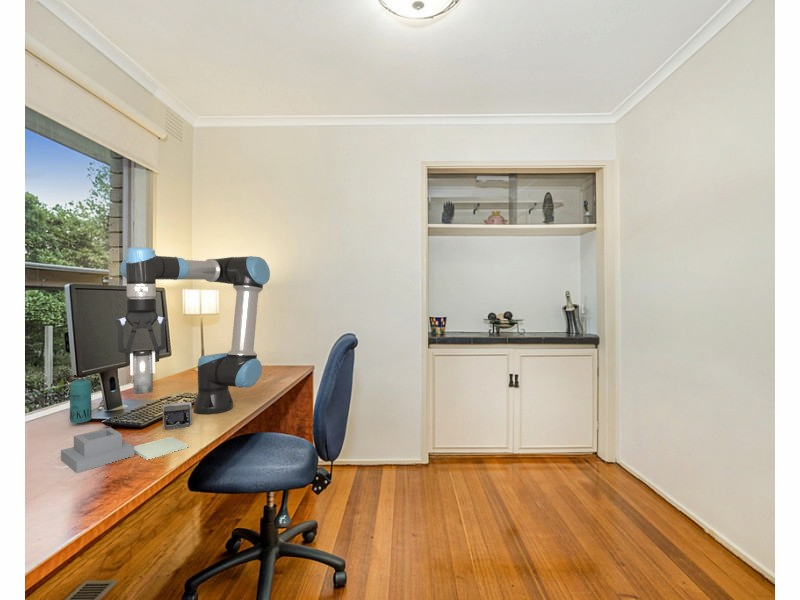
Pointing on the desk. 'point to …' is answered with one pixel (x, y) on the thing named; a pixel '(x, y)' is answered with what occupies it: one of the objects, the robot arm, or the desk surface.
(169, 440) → the sage board
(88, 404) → the beverage bottle
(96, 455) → the socket block
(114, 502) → the desk surface
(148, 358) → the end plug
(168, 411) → the electrical switch
